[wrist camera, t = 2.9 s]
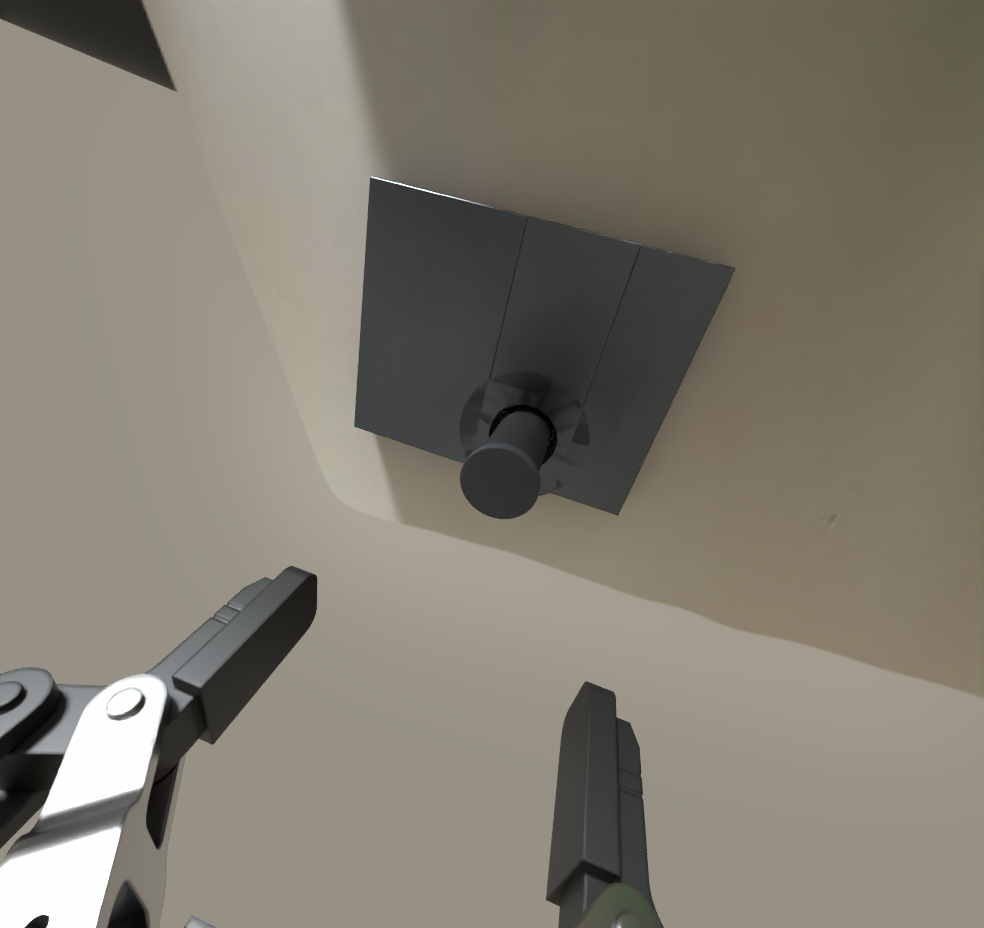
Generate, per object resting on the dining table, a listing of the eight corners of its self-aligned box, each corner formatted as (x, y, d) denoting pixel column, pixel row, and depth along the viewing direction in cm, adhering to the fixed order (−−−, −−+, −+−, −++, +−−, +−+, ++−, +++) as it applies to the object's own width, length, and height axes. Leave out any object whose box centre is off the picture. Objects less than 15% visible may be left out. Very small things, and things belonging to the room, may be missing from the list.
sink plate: (368, 429, 29) (353, 440, 27) (388, 183, 22) (369, 175, 20) (611, 511, 27) (612, 528, 25) (724, 268, 19) (736, 268, 18)
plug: (493, 443, 27) (453, 504, 20) (507, 390, 25) (468, 436, 18) (547, 460, 26) (526, 529, 19) (565, 408, 24) (549, 463, 17)
